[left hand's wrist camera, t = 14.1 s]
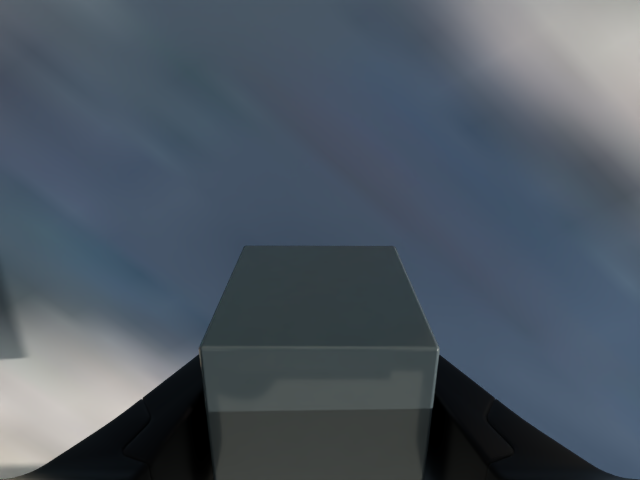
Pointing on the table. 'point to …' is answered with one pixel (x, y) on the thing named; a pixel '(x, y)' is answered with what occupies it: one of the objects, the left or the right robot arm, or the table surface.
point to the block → (319, 367)
